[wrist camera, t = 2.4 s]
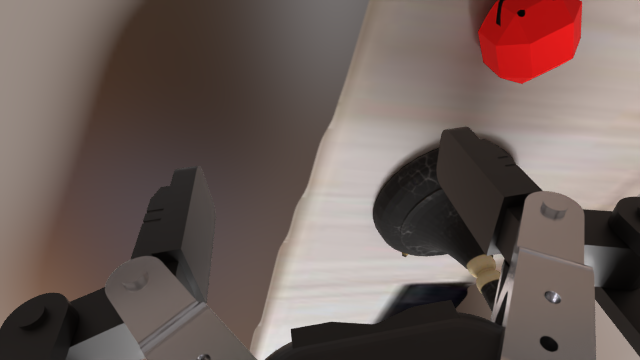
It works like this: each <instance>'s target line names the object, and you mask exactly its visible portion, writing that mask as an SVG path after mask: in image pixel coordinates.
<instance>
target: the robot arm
mask: <svg viewBox="0 0 640 360" xmlns="http://www.w3.org/2000/svg"><path fill="white" fill-rule="evenodd" d="M436 171H437V178H438V182H439V184H440V186H441V187H442V189H443V190H444V192H445V193H446V195H447V197H448V198H449V200H450V201H451V203H452V204H453V206H454V207H455V209H456V210H457V212H458V213H459V215H460V216H461V218H462V219H463V221H464V222H465V224H466V226H467V227H468V229H469V230H470V232H471V233H472V235H473V236H474V238H475V239H476V241H477V242H478V244H479V245H480V247H481V248H482V250H483V252H484V253H485V255H486V256H489V255H495V254H500V253H501V254H502V255H503V257H504V258H505V259H504V262H503V265H502V269H501V274H500V279H499V283H498V288H497V293H496V298H495V303H494V307H493V312H492V316H491V320H486V319H485V318H482V317H479V316H475V315H471V314H466V313H458V312H457V311H456V309H455V307H454V305H453V303H452V301H451V300H449V301H443V302H438V303H432V304H427V305H421V306H416V307H412V308H410V309H407V310H405V311H403V312H401V313H399V314H397V315H395V316H392V317H390V318H388V319H386V320H384V321H382V322H380V323H377V324H357V323H341V322H328V323H322V324H317V325H311V326H305V327H300V328H294V329H291V337H292V342H290V343H288V344H286V345H284V346H283V347H281V348H279V349H278V350H276V351H275V352H273V353H272V354H271V355H270V356H268V357H267V358H266V359H265V360H596V336H595V300H596V301H597V302H598V304H599V305H600V306H601V308H602V309H603V310H604V311H605V313H606V314H607V315H608V317H609V318H610V319H611V320H612V322H613V323H614V324H615V325H616V327H617V328H618V329H619V331H620V332H621V333H622V334H623V336H624V337H625V338H626V339H627V341H628V342H629V344H630V345H631V346H632V347H633V349H634V350H635V351H636V352H637V354H638V355H639V356H640V197H627V198H624V199H621V200H620V201H619V202H618V203H617V205H616V207H615V208H614V210H613V212H612V211H598V210H584V209H582V208H581V206H580V205H579V204H578V203H577V202H575V201H574V200H573V199H571V198H569V197H567V196H565V195H562V194H559V193H555V192H549V191H542V190H541V189H540V188H539V187H538V186H537V185H536V184H535V183H534V182H533V181H532V180H531V179H530V178H529V177H528V176H527V175H526V173H525V172H524V171H523V170H522V169H521V168H520V167H519V166H518V165H517V166H516V163H515V162H514V161H513V160H512V159H511V158H508V155H507V154H506V153H505V152H504V151H503V150H502V149H501V148H500V147H499V146H497V145H495V144H493V143H491V142H489V141H487V140H485V139H479V138H478V137H477V136H476V135H475V133H474V132H473V131H472V130H471V129H470V128H469V127H461V128H454V129H447V130H444V131H443V132H442V135H441V140H440V147H439V154H438V161H437V169H436ZM215 220H216V215H215V207H214V203H213V200H212V197H211V194H210V191H209V188H208V185H207V182H206V179H205V176H204V173H203V171H202V169H201V167H200V166H195V167H188V168H181V169H176V170H175V171H174V174H173V177H172V181H171V184H170V186H166V187H161V188H160V189H159V190H158V191H157V193H156V194H155V195H154V196H153V197H152V198H151V199H150V203H149V205H148V208H147V214H145V217H144V220H143V222H144V224H142V227H141V230H140V232H139V235H138V238H137V242H136V245H135V248H134V251H133V254H132V257H131V260H129V261H127V262H125V263H124V264H122V265H121V266H119V267H118V268H117V269H116V270H115V271H114V272H113V273H112V274H111V275H110V277H109V278H108V280H107V282H106V285H105V287H104V288H102V289H100V290H97V291H95V292H93V293H90V294H88V295H85V296H83V297H81V298H78V299H76V300H73V301H71V302H69V301H68V300H67V298H66V297H65V296H63V295H62V294H59V293H46V294H42V295H39V296H37V297H34V298H32V299H30V300H28V301H27V302H25V303H24V304H22V305H20V306H19V307H18V308H17V309H15V310H14V311H13V312H12V313H11V314H10V315H9V316H8V318H7V319H6V320H5V321H4V323H3V325H2V326H1V328H0V360H142V359H144V358H146V359H147V360H257V359H256V358H255V357H254V356H253V355H252V354H251V353H250V351H249V350H248V349H247V348H246V347H245V346H244V345H243V344H242V343H241V342H240V341H239V339H238V338H237V337H236V336H235V335H234V334H233V333H232V332H231V331H230V330H229V329H228V327H227V326H226V325H225V324H224V323H223V322H222V321H221V320H220V319H219V318H218V316H216V314H215V313H214V312H213V311H212V310H211V309H210V308H209V307H208V306H207V305H206V303H207V294H208V285H209V276H210V266H211V258H212V248H213V239H214V229H215Z"/></svg>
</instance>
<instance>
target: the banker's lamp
mask: <svg viewBox="0 0 640 360" xmlns="http://www.w3.org/2000/svg"><path fill="white" fill-rule="evenodd" d="M501 149H502V148H501ZM502 150H503V149H502ZM503 151H504V152H505V153H506V154H507V155H508V158H511V159H512V157H511V155H509V154H508V153H507V152H506V151H505V150H503ZM438 154H439V149H437V150H434V151H431V152H429V153H427V154H425V155H423V156H421V157H419V158H417V159H416V160H414V161H413V162H411V163H410V164H408V165H407V166H405V167H403V168H402V169H401V170H400V171H399V172H398V173H397V174H396V175H394V176H393V177H392V178H391V179H390V181H389V182H388V183H387V184H386V185H385V187H384V188H383V189H382V191H381V193H380V194H379V196H378V198H377V200H376V203H375V207H374V216H373V219H374V223H375V226H376V228H377V230H378V232H379V233H380V235H381V236H382V238H383V239H384V240H385V241H386V243H387V244H388V245H390V246H391V247H392V248H394V249H395V250H398V251H400V252H402V256H404V257H406V256H407V255H408V254H410V255H415V256H435V255H444V254H449V255H450V256H451V257H453V258H454V259H456V260H457V261H458V262H459V263H460V264H462V265H463V266H464V267H465V268H466V269H468V270H469V272H470V273H471V274H472V275H473V276H474V277H478V278H477V280H476V283H477V287H478V289H479V291H480V292H481V293H482V294H483V296H484V298H485V300H486V301H487V303H488V305H489V307H490V309H491V311H492V312H493V307H494V303H495V298H496V293H497V288H498V283H499V279H500V274H501V273H500V272H499V271H497V270H495V268H496V263H495V260H494V259H493V255H489V256H486V255H485V253H484V252H483V250H482V248H481V247H480V245H479V244H478V242H477V241H476V239H475V238H474V236H473V235H472V233H471V232H470V230H469V229H468V227H467V226H466V224H465V222H464V221H463V219H462V218H461V216H460V215H459V213H458V212H457V210H456V209H455V207H454V206H453V204H452V203H451V201H450V200H449V198H448V197H447V195H446V193H445V192H444V190H443V189H442V187H441V186H440V184H439V182H438V178H437V171H436V169H437V161H438ZM512 160H513V159H512Z"/></svg>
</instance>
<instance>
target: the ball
mask: <svg viewBox="0 0 640 360" xmlns="http://www.w3.org/2000/svg"><path fill="white" fill-rule="evenodd" d="M581 16H582V1H580V0H498V1H496V2H495V4H494V5H493V7H492V8H491V10H490V11H489V13H488V14H487V16H486V18H485V20H484V22H483V23H482V25H481V27H480V29H479V31H478V34H479V40H480V46H481V52H482V57H483V63H485V64H486V65H487V66H488V67H489V68H490V69H491V70H492V71H493V72H494V73H495V74H496V75H498V76H499V77H500V78H503V79H506V80H510V81H513V82H517V83H521V84H523V83H525V82H527V81H529V80H531V79H533V78H535V77H537V76H539V75H541V74H543V73H545V72H547V71H549V70H551V69H554V68H556V67H558V66H560V65H561V64H563V63H565V62H567V61H569V60H571V59H572V58H573V57H574V54H575V51H576V49H577V46H578V44H579V41H580V38H581Z"/></svg>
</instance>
